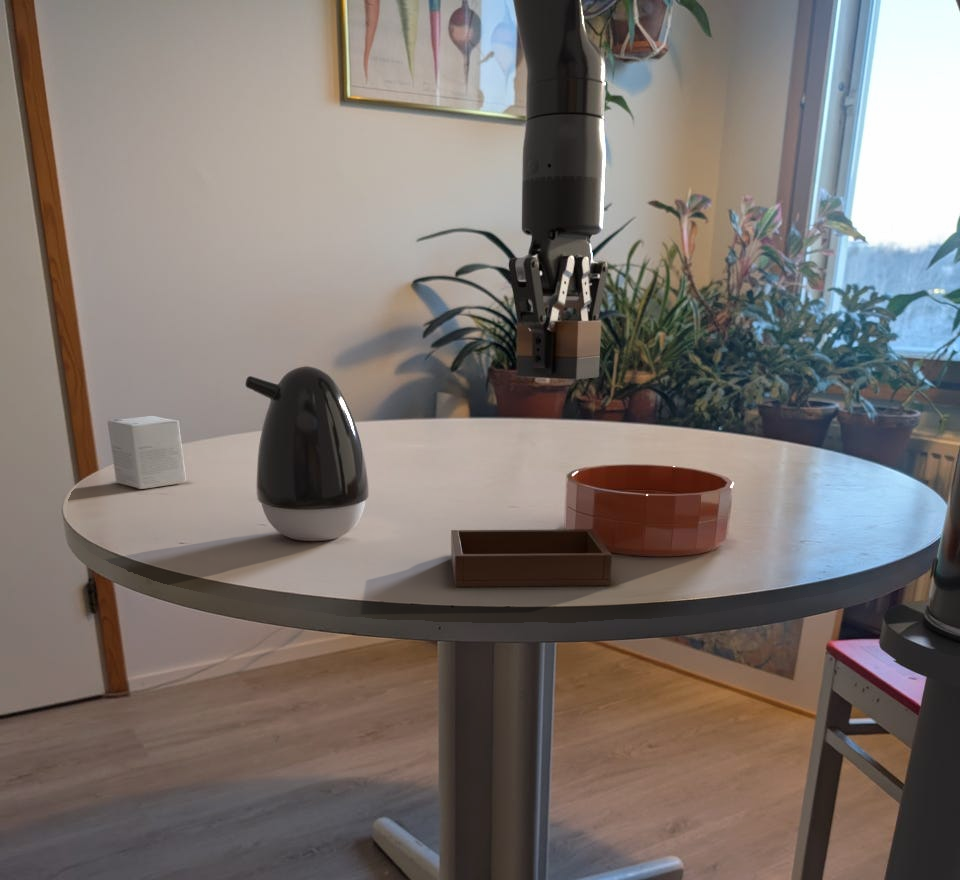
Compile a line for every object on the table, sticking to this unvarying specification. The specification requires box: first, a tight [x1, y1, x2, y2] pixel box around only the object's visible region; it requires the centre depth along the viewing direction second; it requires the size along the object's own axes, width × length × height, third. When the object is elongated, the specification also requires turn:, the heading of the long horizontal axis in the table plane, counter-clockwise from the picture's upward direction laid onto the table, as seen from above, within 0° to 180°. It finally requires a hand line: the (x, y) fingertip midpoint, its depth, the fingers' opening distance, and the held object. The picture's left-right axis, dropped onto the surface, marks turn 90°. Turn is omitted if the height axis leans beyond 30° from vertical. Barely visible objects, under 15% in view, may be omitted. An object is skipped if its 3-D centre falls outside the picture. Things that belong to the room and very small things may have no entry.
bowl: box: [563, 463, 735, 558], centre depth 84 cm, size 15×15×6 cm
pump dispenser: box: [244, 365, 370, 542], centre depth 81 cm, size 10×10×15 cm
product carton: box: [107, 415, 187, 490], centre depth 104 cm, size 6×6×7 cm
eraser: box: [515, 319, 602, 381], centre depth 87 cm, size 7×4×5 cm, turn 52°
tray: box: [450, 528, 613, 588], centre depth 73 cm, size 12×8×2 cm
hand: (557, 371), depth 87 cm, fingers closed on eraser, 4 cm apart
